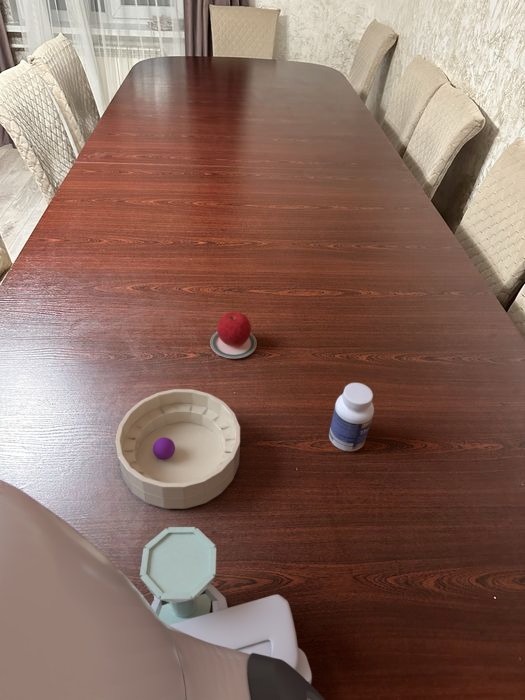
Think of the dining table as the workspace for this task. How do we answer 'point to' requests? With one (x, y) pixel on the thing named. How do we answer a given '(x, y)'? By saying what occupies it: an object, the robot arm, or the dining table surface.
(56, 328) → the dining table surface
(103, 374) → the dining table surface
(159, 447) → the ball
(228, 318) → the apple
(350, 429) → the pill bottle
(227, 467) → the bowl
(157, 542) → the pedestal stand
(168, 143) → the dining table surface
